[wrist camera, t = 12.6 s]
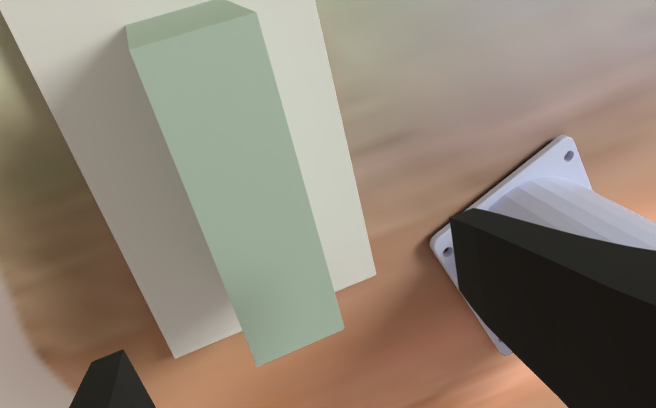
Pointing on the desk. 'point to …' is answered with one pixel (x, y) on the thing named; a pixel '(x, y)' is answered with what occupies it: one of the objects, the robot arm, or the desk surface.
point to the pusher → (239, 170)
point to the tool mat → (156, 160)
